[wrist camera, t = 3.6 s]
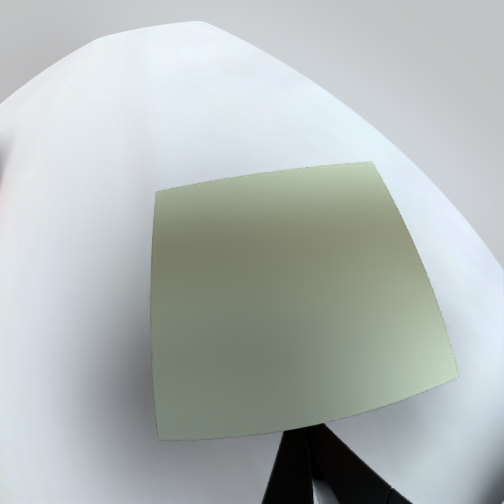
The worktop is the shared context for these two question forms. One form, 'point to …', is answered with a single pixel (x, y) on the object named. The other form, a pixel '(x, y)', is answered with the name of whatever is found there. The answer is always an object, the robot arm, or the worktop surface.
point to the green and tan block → (287, 304)
